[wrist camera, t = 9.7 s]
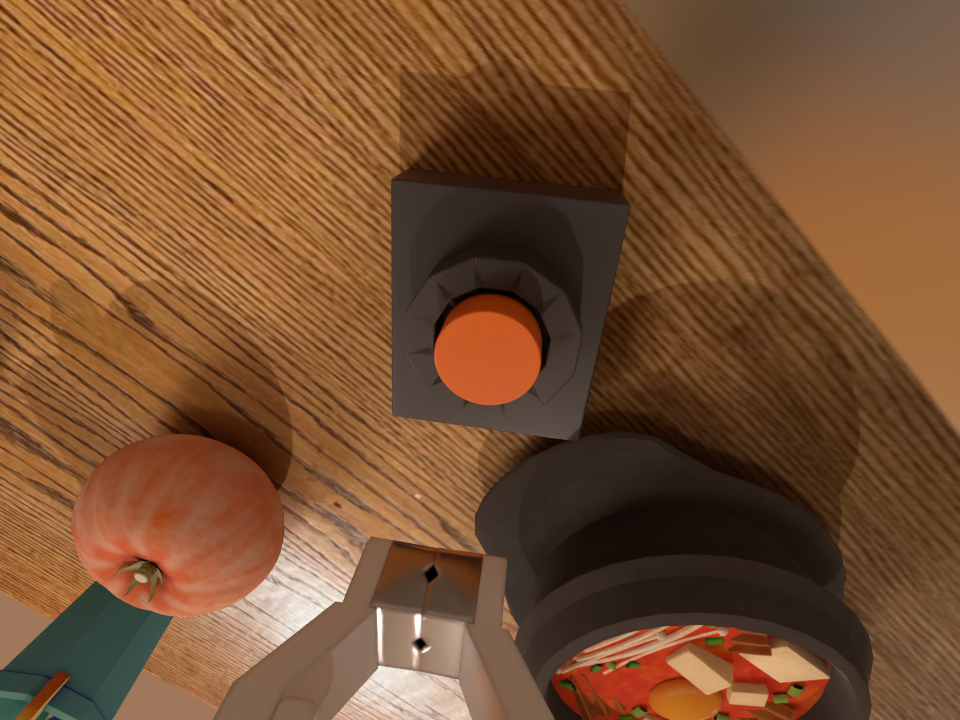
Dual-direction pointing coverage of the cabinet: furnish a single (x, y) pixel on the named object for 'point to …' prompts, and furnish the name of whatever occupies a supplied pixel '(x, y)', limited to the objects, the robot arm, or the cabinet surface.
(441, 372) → the button
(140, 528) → the tomato
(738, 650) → the casserole
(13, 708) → the cup
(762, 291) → the cabinet surface
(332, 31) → the cabinet surface
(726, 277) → the cabinet surface
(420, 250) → the button housing
